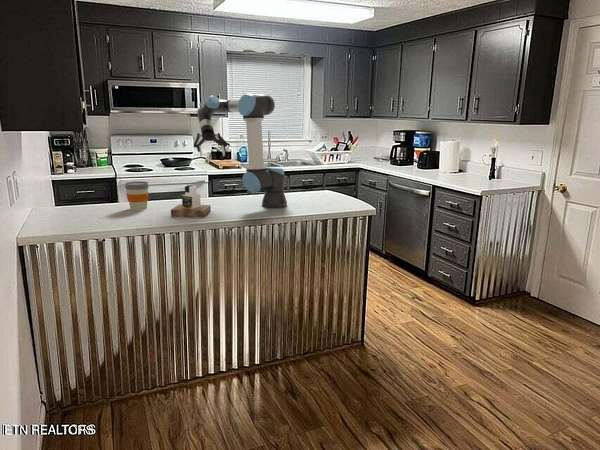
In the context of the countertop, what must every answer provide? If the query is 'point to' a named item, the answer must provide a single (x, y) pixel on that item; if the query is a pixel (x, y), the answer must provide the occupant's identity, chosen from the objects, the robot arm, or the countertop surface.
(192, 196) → the medicine bottle
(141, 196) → the reusable coffee cup
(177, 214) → the block
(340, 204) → the countertop surface
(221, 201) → the countertop surface
